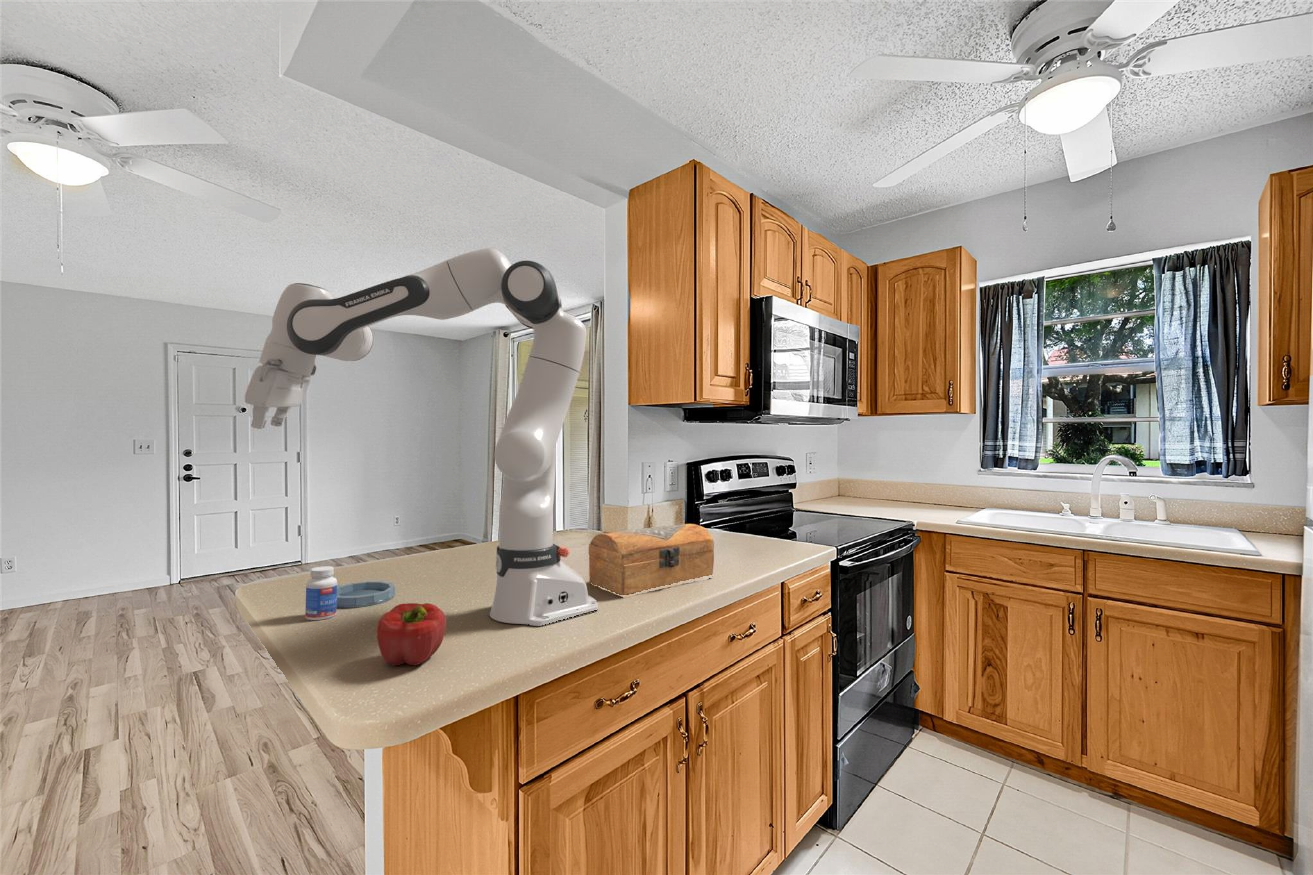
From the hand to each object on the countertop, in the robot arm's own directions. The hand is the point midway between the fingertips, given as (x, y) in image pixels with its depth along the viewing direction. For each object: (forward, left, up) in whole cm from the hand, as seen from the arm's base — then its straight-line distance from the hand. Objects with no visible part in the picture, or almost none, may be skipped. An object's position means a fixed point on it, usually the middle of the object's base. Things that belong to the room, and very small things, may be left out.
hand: (266, 427), depth 110 cm
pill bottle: (-10, +6, -39) cm, 40 cm away
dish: (-18, -3, -38) cm, 42 cm away
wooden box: (-82, +18, -39) cm, 93 cm away
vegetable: (-22, +39, -39) cm, 59 cm away
